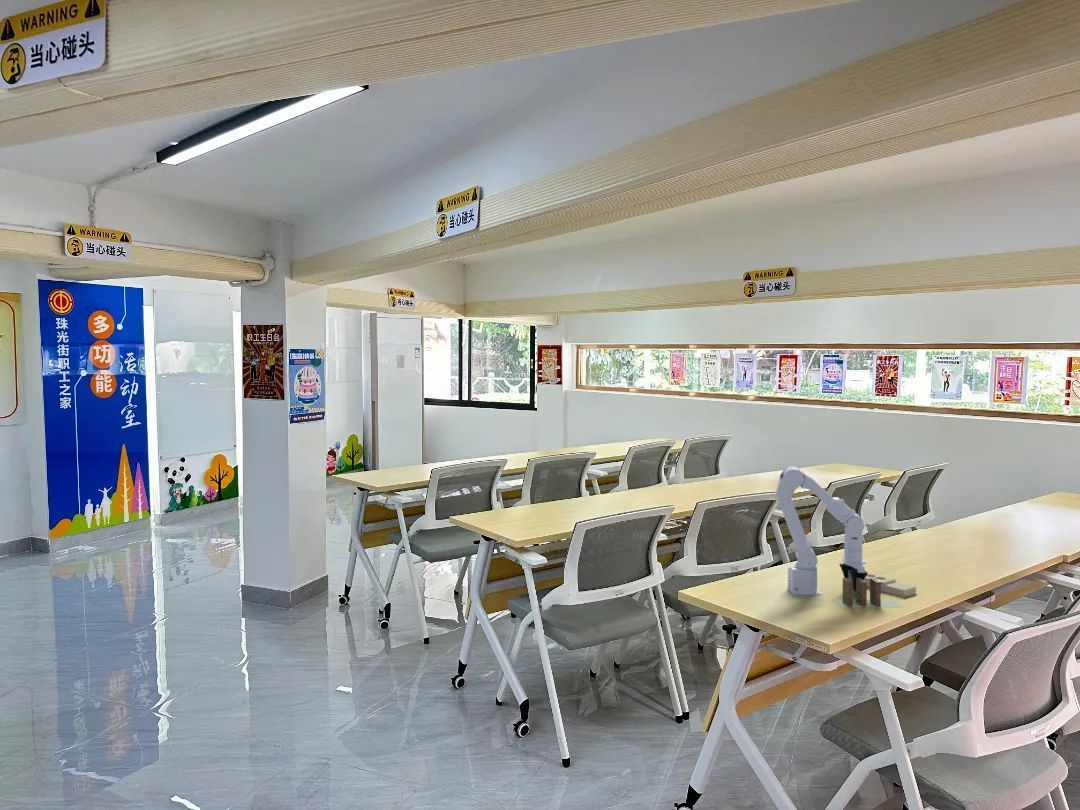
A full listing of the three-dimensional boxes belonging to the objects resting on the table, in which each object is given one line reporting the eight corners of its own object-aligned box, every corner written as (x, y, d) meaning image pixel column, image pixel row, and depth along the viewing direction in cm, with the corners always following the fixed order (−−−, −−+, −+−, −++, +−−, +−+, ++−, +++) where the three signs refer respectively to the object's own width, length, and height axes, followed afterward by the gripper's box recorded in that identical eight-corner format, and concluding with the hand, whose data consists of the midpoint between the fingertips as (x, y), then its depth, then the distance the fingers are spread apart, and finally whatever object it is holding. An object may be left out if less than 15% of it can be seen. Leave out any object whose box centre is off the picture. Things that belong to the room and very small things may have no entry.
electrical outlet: (904, 587, 247) (856, 575, 262) (904, 599, 248) (855, 586, 263) (916, 583, 251) (868, 571, 266) (915, 595, 251) (867, 582, 266)
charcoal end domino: (853, 597, 250) (853, 573, 249) (848, 592, 254) (848, 569, 254) (857, 597, 249) (858, 573, 249) (852, 592, 254) (852, 569, 254)
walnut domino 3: (876, 606, 238) (876, 582, 238) (869, 601, 243) (870, 578, 243) (880, 606, 238) (880, 582, 238) (874, 601, 243) (874, 578, 243)
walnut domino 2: (862, 606, 239) (862, 582, 238) (856, 601, 244) (856, 578, 243) (866, 606, 239) (866, 582, 238) (860, 601, 244) (860, 578, 243)
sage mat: (841, 608, 238) (841, 607, 238) (833, 601, 245) (833, 600, 245) (904, 607, 238) (904, 607, 238) (894, 601, 245) (894, 600, 245)
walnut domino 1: (848, 606, 239) (848, 582, 238) (842, 601, 244) (842, 578, 243) (852, 606, 239) (852, 582, 238) (846, 601, 244) (846, 578, 243)
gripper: (873, 554, 244) (873, 594, 244) (856, 543, 258) (856, 581, 259) (852, 554, 244) (852, 594, 245) (836, 543, 259) (836, 581, 259)
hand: (853, 587), depth 252 cm, fingers open, 7 cm apart
